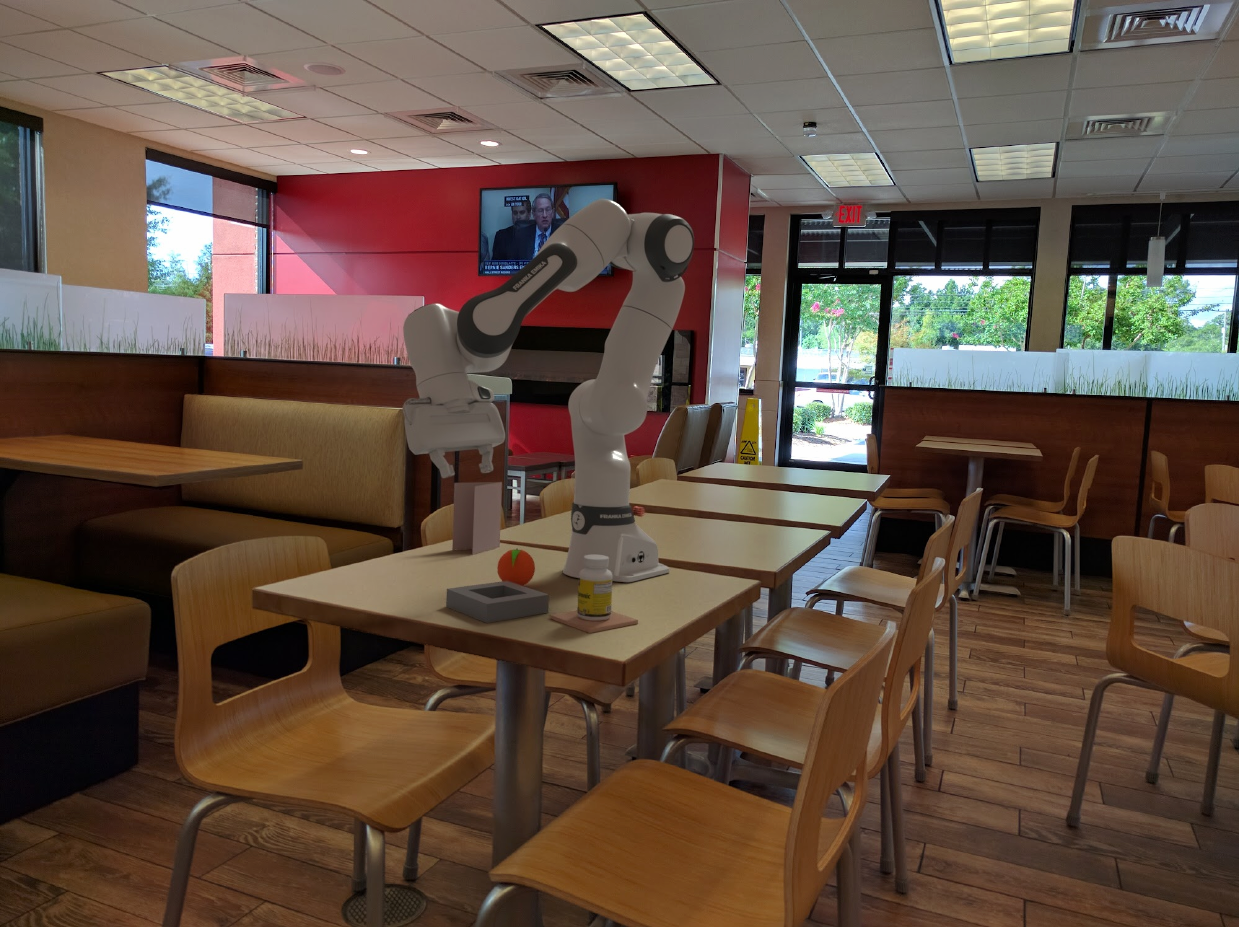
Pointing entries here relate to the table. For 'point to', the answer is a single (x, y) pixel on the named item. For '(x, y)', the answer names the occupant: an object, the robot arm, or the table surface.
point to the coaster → (593, 626)
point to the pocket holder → (497, 601)
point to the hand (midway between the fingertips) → (468, 474)
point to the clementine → (516, 567)
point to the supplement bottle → (595, 589)
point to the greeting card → (477, 516)
